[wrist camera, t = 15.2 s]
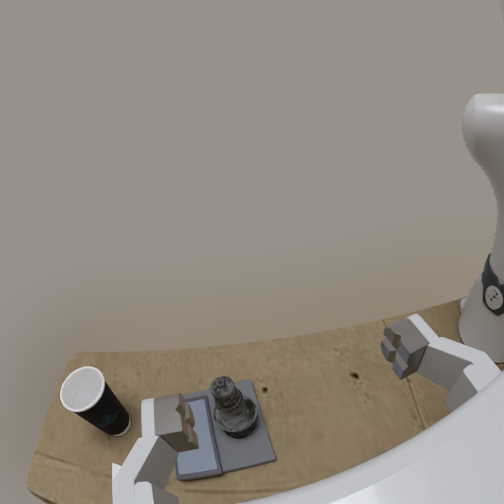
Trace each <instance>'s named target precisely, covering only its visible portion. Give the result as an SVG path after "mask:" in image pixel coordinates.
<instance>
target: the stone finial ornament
mask: <svg viewBox="0 0 504 504" xmlns="http://www.w3.org/2000/svg"><path fill="white" fill-rule="evenodd" d="M210 391H211V394H212V395H213V397H214V405H215V407H214V411H213V418H214V421H215V423H216V424H217V426H218V427H220V428H221V429H223V431H224V432H225V433H226V434H227V435H228V436H229V437H231V438H234V439H244V438H247V437H250V436H251V435H253V434H254V433H255V432H256V430H257V429H258V427H259V417H258V415H257V413H258V411H257V406H256V404H255V402H254V401H253V400H252V399H251V398H250V397H248V396H246V395H243V394H242V392H241V391H240V390H239V389H237V388H236V386H235V384H234V382H233V381H232V380H231V379H230V378H229V377H224V376H223V377H218V378H216V379H215V380H214V381H213V382H212V383H211V386H210Z"/></svg>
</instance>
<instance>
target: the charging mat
mask: <svg viewBox="0 0 504 504" xmlns="http://www.w3.org/2000/svg"><path fill="white" fill-rule="evenodd" d="M234 384H235V386H236V388H237V389H239V390H240V391H241V392H242V394H243V395H246V396H248V397H250V398H251V399H252V400H253V401H254V402H255V404H256V406H257V411H258V413H257V415H258V417H259V427H258V429H257V430H256V432H255V433H254V434H253V435H251V436H250V437H247V438H244V439H234V438H231V437H229V436H228V435H227V434H226V433H225V432H224V431H223V429H221V428H220V427H218V426H217V424H216V423H215V421H214V418H213V411H214V407H215V405H214V397H213V395H212V394H211V391H210V389H209V390H204V391H200V392H195V393H191V394H186V395H182V396H183V397H184V400H185V399H190V398H194V397H199V396H204V395H207V397H208V401H209V407H210V412H211V417H212V423H213V428H214V433H215V438H216V443H217V448H218V452H219V457H220V462H221V466H222V470H223V473H227V472H232V471H237V470H241V469H246V468H250V467H254V466H258V465H262V464H266V463H269V462H273V461H276V458H275V455H274V452H273V449H272V446H271V443H270V440H269V437H268V433H267V430H266V427H265V424H264V421H263V418H262V414H261V411H260V408H259V405H258V402H257V398H256V395H255V392H254V388H253V385H252V382H251V379H247V380H244V381H240V382H236V383H234Z"/></svg>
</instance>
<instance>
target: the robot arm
mask: <svg viewBox="0 0 504 504" xmlns="http://www.w3.org/2000/svg"><path fill="white" fill-rule="evenodd" d="M500 4H501V9H502V13H503V19H504V0H500ZM462 133H463V137H464V141H465V144H466V147H467V149H468V151H469V153H470V154H471V156H472V157H473V159H474V160H475V161H476V162H477V163H478V165H479V166H480V167H481V168H482V169H483V170H484V172H485V174H486V175H487V177H488V179H489V181H490V183H491V185H492V187H493V190H494V193H495V196H496V201H497V208H498V218H497V228H496V233H495V239H494V243H493V248H492V251H491V253H490V254H489V255H488V258H487V260H486V262H485V265H484V268H483V269H484V270H483V273H482V274H480V275H477V277H476V279H475V281H474V283H473V286H472V288H471V290H470V292H469V295H468V297H466V298H463V299H462V300H461V302H460V304H459V306H460V311H461V316H460V319H459V325H458V327H459V334H460V337H461V339H462V341H463V343H464V344H465V345H463V344H460V343H458V342H455V341H452V340H449V339H447V338H444V337H441V338H439V337H438V336H437V335H436V334H435V332H434V331H433V330H432V329H431V328H430V327H429V326H428V325H427V324H426V322H425V321H424V320H423V319H422V318H421V317H420V316H419V315H418V314H413V315H411V316H409V317H407V318H404V319H402V320H400V321H398V322H396V323H394V324H392V325H389V326H387V327H386V328H385V329H384V335H385V337H384V339H383V340H382V343H381V349H382V353H383V355H384V357H385V358H386V360H387V361H389V362H391V363H393V368H392V369H393V370H394V371H395V373H396V374H397V376H398V377H399V379H400V380H401V379H403V378H405V377H407V376H409V375H411V374H413V373H415V372H416V373H418V374H420V375H422V376H424V377H426V378H427V379H429V380H431V381H433V382H435V383H437V384H439V385H441V386H443V387H444V388H446V389H448V390H450V392H449V393H448V395H447V396H446V398H445V401H444V402H445V403H446V405H447V406H448V408H449V409H450V411H451V413H450V414H448V415H447V416H445V417H444V418H442V419H441V420H439V421H438V422H436V423H435V424H433V425H432V426H430V427H429V428H427V429H425V430H424V431H422V432H421V433H419V434H417V435H416V436H414V437H412V438H410V439H409V440H407V441H405V442H403V443H402V444H400V445H398V446H396V447H394V448H392V449H390V450H389V451H387V452H385V453H383V454H381V455H379V456H377V457H375V458H372V459H370V460H368V461H366V462H364V463H362V464H360V465H357V466H355V467H353V468H350V469H348V470H346V471H343V472H341V473H338V474H336V475H333V476H331V477H328V478H325V479H323V480H320V481H317V482H314V483H311V484H308V485H305V486H302V487H299V488H296V489H293V490H289V491H286V492H282V493H279V494H275V495H271V496H267V497H263V498H259V499H255V500H250V501H245V502H240V503H235V504H504V370H503V371H502V372H501V371H500V369H499V368H498V367H497V366H496V365H495V363H504V94H493V93H490V94H475V95H474V96H473V97H472V98H471V99H470V100H469V102H468V103H467V105H466V107H465V110H464V113H463V118H462ZM141 422H142V437H141V438H138V440H137V441H136V443H135V445H134V446H133V448H132V450H131V451H130V453H129V455H128V456H127V458H126V460H125V461H124V463H123V465H122V466H121V468H120V470H119V471H118V473H117V475H116V476H115V478H114V480H113V481H112V484H113V503H114V504H179V502H178V497H177V496H175V495H174V494H171V493H169V492H167V491H165V490H164V489H165V486H166V484H167V481H168V479H169V477H170V474H171V472H172V470H173V467H174V465H175V463H176V460H177V458H178V455H179V453H178V452H184V451H190V450H195V449H199V444H198V438H197V434H196V432H195V431H194V430H193V428H194V426H195V419H194V415H193V412H192V409H191V407H190V405H189V404H188V403H186V402H184V397H183V396H182V394H181V393H179V394H174V395H169V396H163V397H157V398H151V399H145V400H142V404H141Z"/></svg>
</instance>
